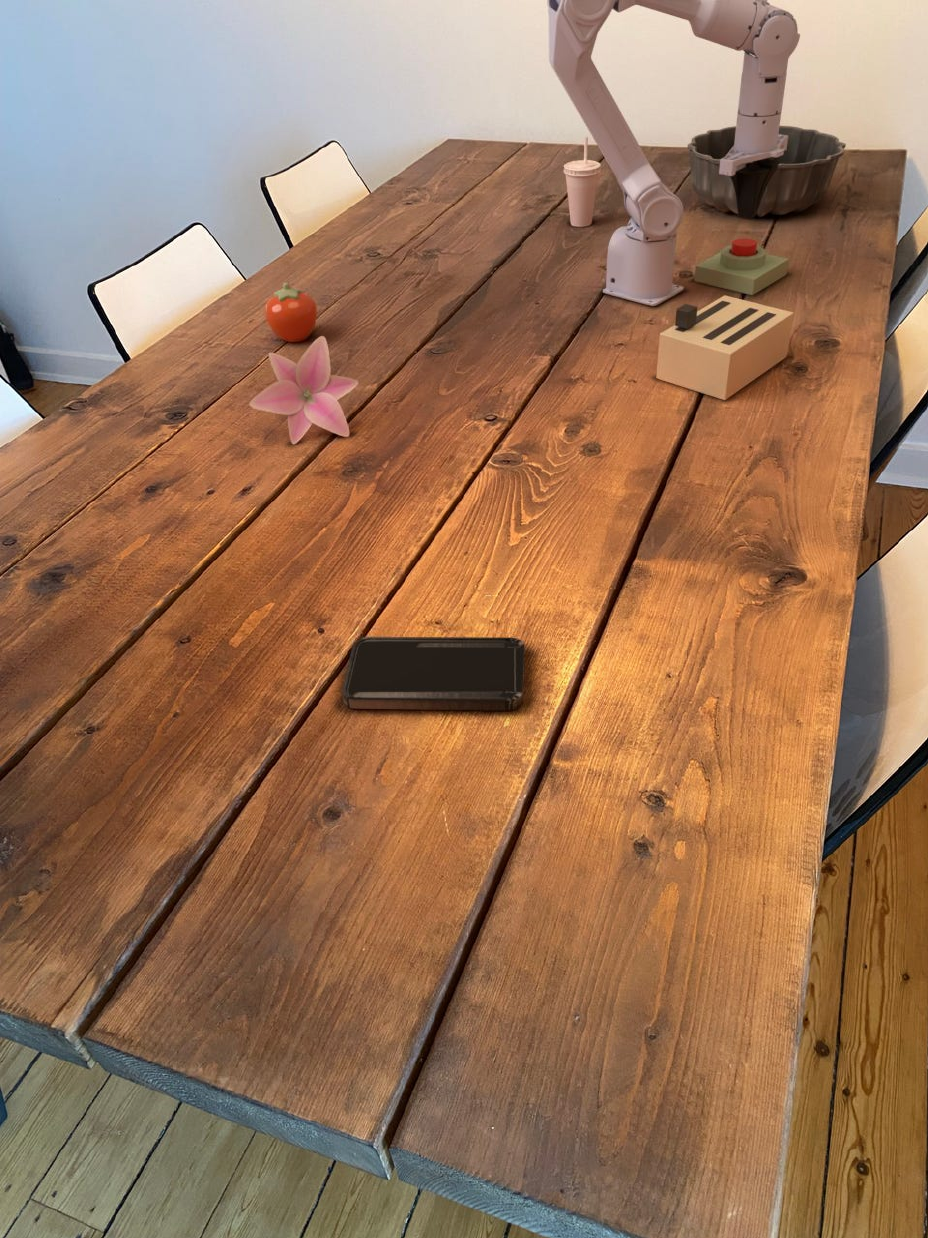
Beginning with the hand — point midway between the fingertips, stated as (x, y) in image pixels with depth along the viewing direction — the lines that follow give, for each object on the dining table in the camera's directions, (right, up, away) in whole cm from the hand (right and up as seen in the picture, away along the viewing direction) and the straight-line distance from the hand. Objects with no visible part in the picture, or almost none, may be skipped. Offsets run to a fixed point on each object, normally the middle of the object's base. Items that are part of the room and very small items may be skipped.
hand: (746, 216), depth 136 cm
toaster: (-8, -26, -14) cm, 30 cm away
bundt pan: (+12, +17, +35) cm, 41 cm away
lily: (-59, -35, -20) cm, 72 cm away
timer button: (+1, -3, +6) cm, 7 cm away
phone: (-43, -63, -55) cm, 95 cm away
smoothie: (-20, +12, +32) cm, 40 cm away
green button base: (+1, -6, +8) cm, 10 cm away
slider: (-13, -21, -19) cm, 31 cm away
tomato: (-65, -17, +1) cm, 67 cm away
